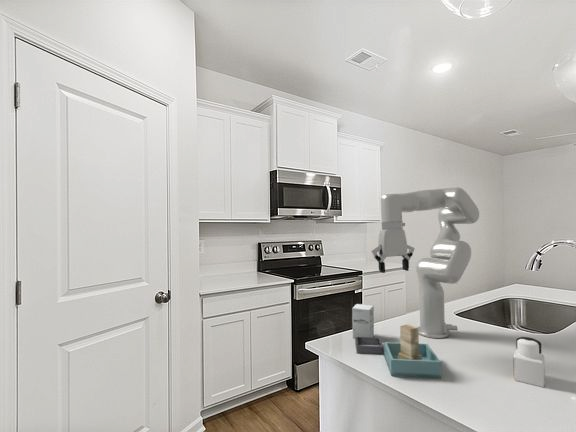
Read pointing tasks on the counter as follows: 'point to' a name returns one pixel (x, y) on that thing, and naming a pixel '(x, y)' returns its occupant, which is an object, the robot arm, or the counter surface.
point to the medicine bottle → (529, 362)
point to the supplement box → (363, 320)
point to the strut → (409, 343)
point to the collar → (369, 349)
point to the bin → (412, 362)
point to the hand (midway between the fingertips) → (394, 271)
